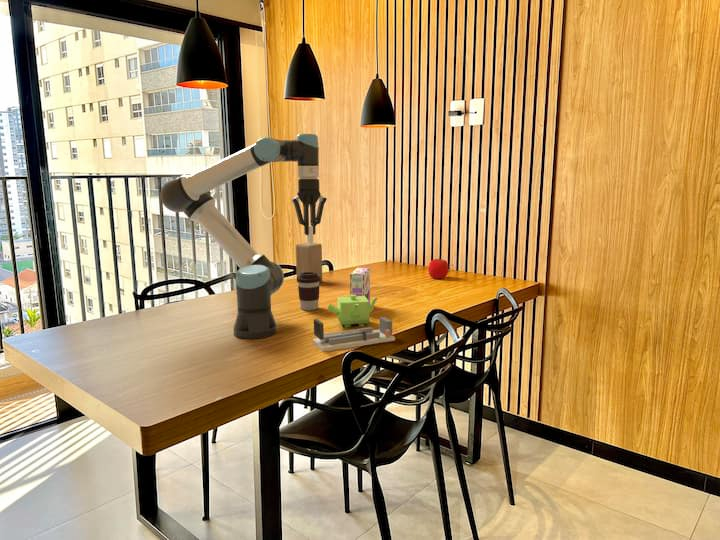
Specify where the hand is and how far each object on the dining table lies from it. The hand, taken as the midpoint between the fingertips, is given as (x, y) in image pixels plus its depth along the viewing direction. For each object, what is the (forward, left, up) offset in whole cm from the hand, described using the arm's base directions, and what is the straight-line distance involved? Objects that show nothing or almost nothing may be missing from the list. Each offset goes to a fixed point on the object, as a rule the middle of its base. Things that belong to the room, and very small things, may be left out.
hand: (310, 243), depth 189 cm
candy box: (+25, +11, -31) cm, 41 cm away
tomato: (+88, +50, -31) cm, 106 cm away
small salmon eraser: (+17, -30, -29) cm, 45 cm away
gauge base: (+6, -26, -30) cm, 40 cm away
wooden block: (+23, +71, -31) cm, 81 cm away
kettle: (+14, -8, -31) cm, 35 cm away
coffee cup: (+6, +21, -31) cm, 38 cm away
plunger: (+1, -27, -29) cm, 39 cm away
